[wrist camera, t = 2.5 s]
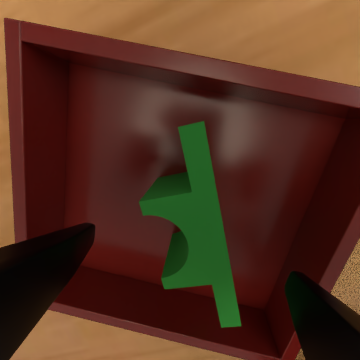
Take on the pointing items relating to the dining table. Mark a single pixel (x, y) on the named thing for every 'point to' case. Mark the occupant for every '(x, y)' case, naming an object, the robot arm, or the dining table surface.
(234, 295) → the pipe clamp
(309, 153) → the open red box
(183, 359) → the dining table surface
